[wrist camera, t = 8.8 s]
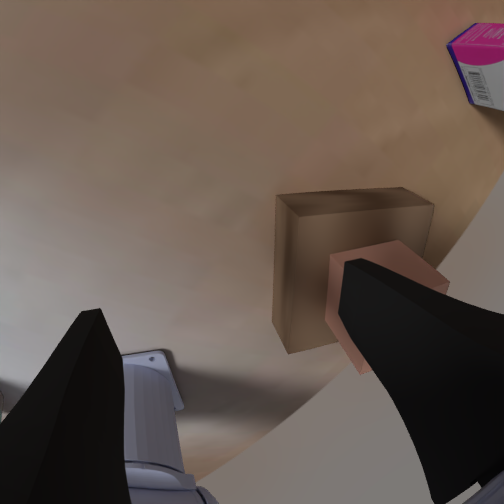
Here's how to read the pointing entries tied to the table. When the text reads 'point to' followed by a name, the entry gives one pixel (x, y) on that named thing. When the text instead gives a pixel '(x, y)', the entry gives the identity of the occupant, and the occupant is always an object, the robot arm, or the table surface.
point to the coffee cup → (1, 405)
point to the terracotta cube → (389, 257)
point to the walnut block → (332, 249)
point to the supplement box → (481, 63)
